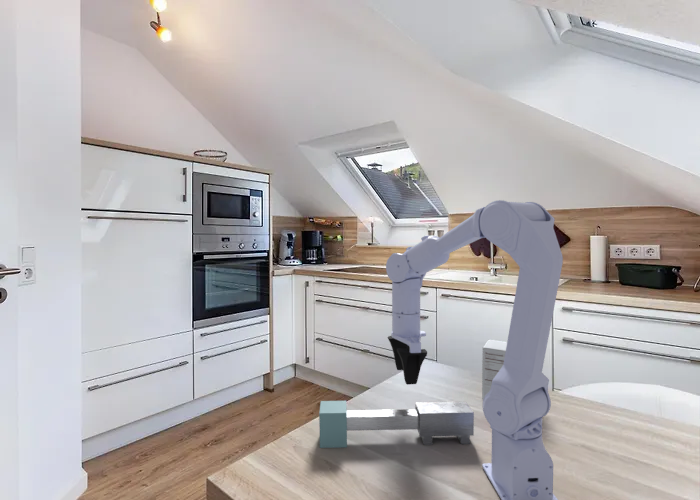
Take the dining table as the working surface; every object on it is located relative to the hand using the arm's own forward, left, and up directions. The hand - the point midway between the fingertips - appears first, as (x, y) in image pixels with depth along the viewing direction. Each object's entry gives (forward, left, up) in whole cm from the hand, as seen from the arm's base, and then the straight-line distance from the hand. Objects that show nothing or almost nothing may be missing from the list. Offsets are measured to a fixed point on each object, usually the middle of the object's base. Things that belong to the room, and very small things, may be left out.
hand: (406, 376), depth 80 cm
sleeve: (-7, -6, -9) cm, 13 cm away
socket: (-7, +15, -9) cm, 19 cm away
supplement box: (+10, -24, -10) cm, 28 cm away
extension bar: (-7, +6, -7) cm, 11 cm away
